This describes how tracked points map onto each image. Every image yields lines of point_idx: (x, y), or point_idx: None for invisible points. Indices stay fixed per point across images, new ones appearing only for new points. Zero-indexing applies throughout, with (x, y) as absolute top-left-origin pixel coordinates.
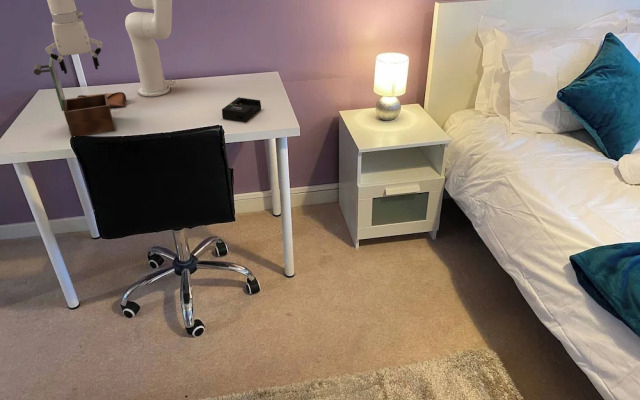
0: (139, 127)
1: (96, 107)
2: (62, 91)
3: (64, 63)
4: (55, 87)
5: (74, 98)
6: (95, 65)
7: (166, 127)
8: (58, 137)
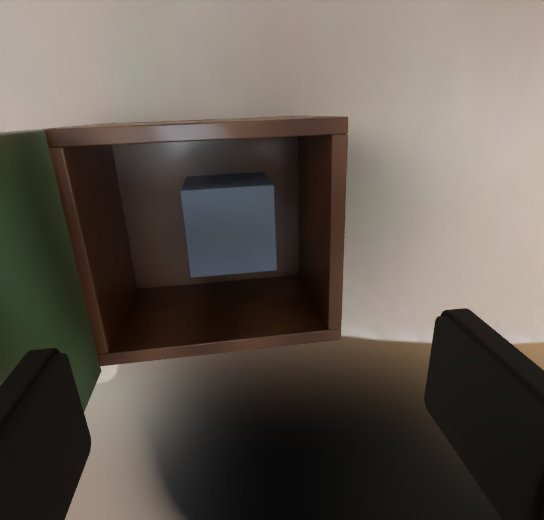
0: (399, 277)
1: (276, 346)
2: (25, 186)
3: (18, 479)
4: None
5: (120, 137)
6: (461, 447)
7: (487, 308)
8: None
